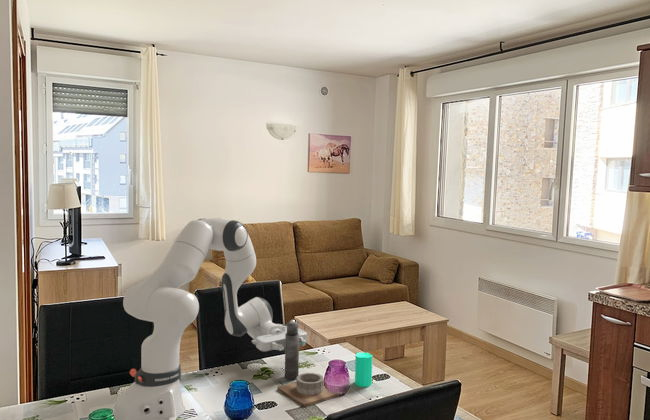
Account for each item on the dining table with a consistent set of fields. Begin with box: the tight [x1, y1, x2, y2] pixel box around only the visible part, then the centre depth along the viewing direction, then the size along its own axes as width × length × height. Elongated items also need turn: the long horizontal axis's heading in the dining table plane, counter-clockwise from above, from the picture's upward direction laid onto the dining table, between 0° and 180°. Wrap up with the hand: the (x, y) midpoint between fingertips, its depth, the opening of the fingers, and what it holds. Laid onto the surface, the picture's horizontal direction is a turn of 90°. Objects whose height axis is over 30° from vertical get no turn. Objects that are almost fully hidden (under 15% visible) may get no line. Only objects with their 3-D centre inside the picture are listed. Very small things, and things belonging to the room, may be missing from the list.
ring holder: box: [276, 372, 340, 408], centre depth 171 cm, size 16×16×5 cm
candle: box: [354, 351, 373, 388], centre depth 179 cm, size 6×6×12 cm
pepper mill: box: [284, 319, 300, 381], centre depth 182 cm, size 5×5×21 cm
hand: (293, 345), depth 181 cm, fingers open, 8 cm apart
